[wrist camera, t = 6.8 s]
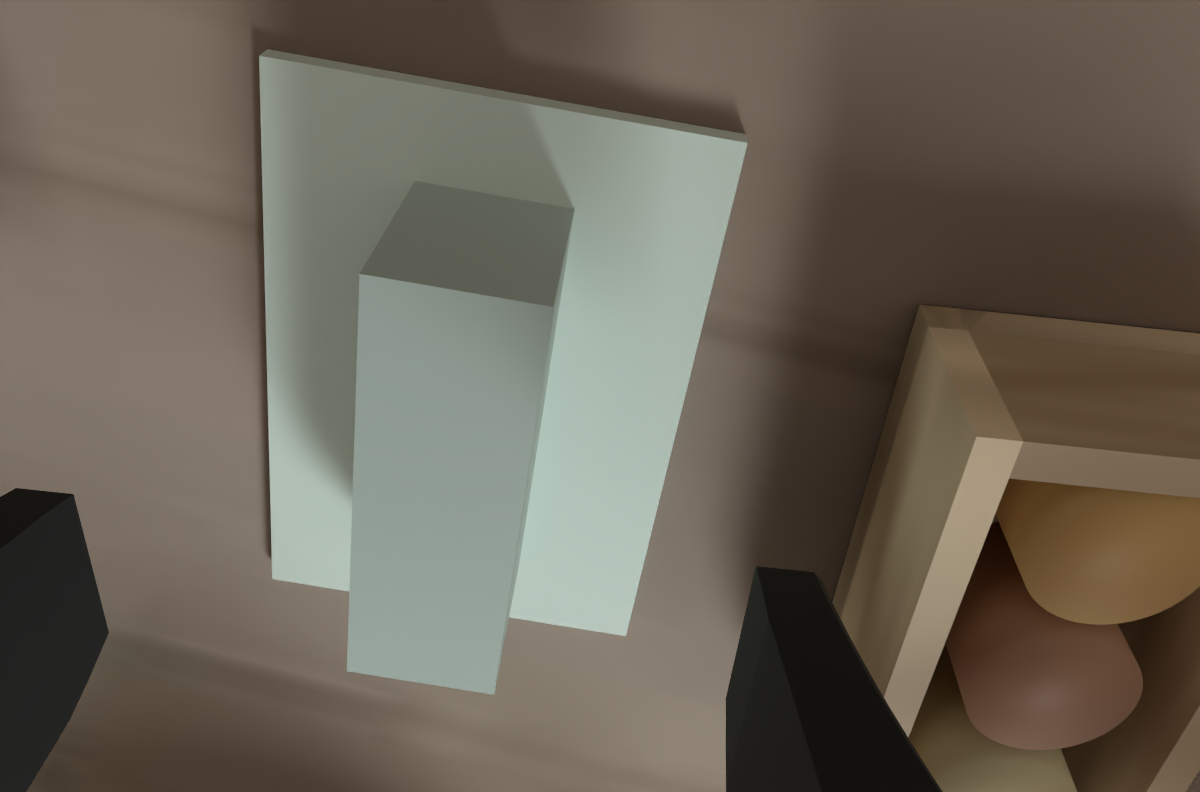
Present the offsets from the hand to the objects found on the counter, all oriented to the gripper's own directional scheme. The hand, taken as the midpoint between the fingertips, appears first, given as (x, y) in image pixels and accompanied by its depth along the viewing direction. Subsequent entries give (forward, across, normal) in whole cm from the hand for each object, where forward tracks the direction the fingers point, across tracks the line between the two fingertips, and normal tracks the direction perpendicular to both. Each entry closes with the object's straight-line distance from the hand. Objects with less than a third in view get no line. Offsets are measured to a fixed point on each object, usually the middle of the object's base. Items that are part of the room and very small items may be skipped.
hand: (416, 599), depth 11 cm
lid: (+5, 0, 0) cm, 5 cm away
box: (+4, -8, +2) cm, 9 cm away
